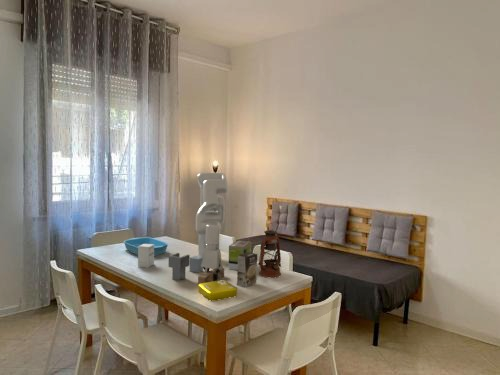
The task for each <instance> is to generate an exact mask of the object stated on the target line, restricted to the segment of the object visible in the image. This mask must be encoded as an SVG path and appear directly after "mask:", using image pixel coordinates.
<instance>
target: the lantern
mask: <svg viewBox="0 0 500 375" xmlns="http://www.w3.org/2000/svg"><path fill="white" fill-rule="evenodd" d="M270 225H273V223H272V222H270V223H269V224H268V227H267V230H264V231H263V233H264V234H265V235H264V238H263V240H262V242H261V244H260V253H259V254H260V255H259V258H258V262H257V266H259V268H260V271H259V273H258V275H259V276H260V277H263V278H267V277H271V278H270V279H274V278H275V277H276V278H280V277H282V273H281V268H282V264H281V262H282V260H281V259H282V257H281V249H280V248H281V247H280V246H281V245H280V238H279V237H278V236H277V231H275V230H274V229H271V230H270V229H269V226H270ZM265 250H266V251H265ZM270 252H273V254H272V253H270ZM265 255H267V257H269V259H265ZM268 255H270V256H271V257H270V256H268ZM279 276H280V277H279Z"/></svg>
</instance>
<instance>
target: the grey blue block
mask: <svg viewBox="0 0 500 375" xmlns="http://www.w3.org/2000/svg"><path fill="white" fill-rule="evenodd" d="M201 264H202V257H199V256H198V255H194V256H191V257H190V258H189V272H192V273H197V274H199V273H201V272H203V270H204V269H203V268H202V267H201Z"/></svg>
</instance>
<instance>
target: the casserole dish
mask: <svg viewBox="0 0 500 375" xmlns="http://www.w3.org/2000/svg"><path fill="white" fill-rule="evenodd" d="M123 243H124V246H125V248H126V250H127V251H129V252H131V253H132V254H135V255H137V256H138V246H140V245H142V244H154V257H155V256H160V255H163V254H164V253H165V252H166V251H167V248H168V245H169V243H167V242H166V241H163V240H160V239H158V238H154V237H148V236H147V237H143V236H142V237H132V238H128V239H125V240H123Z"/></svg>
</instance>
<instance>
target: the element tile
mask: <svg viewBox="0 0 500 375" xmlns="http://www.w3.org/2000/svg"><path fill="white" fill-rule="evenodd" d="M237 293H238V290H237V287H236V286H235V285H233V284H232V283H230V282H228V281H227V280H225V279H218V280H216V281H213V282H207V283H201V284H199V286H198V294H199V295H201V294H202V295H203V297H204V298H205V299H206V298H207V299H208V300H207V299H206V300H207V301H209V300H211V301H210V302H213V301H212V300H216V301H219V300H218V299H221V300H225V299H224V298H226V299H230V298H229V297H231V298H235V297H234V296H236V295H237ZM202 295H201V296H202ZM236 297H237V296H236Z"/></svg>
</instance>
